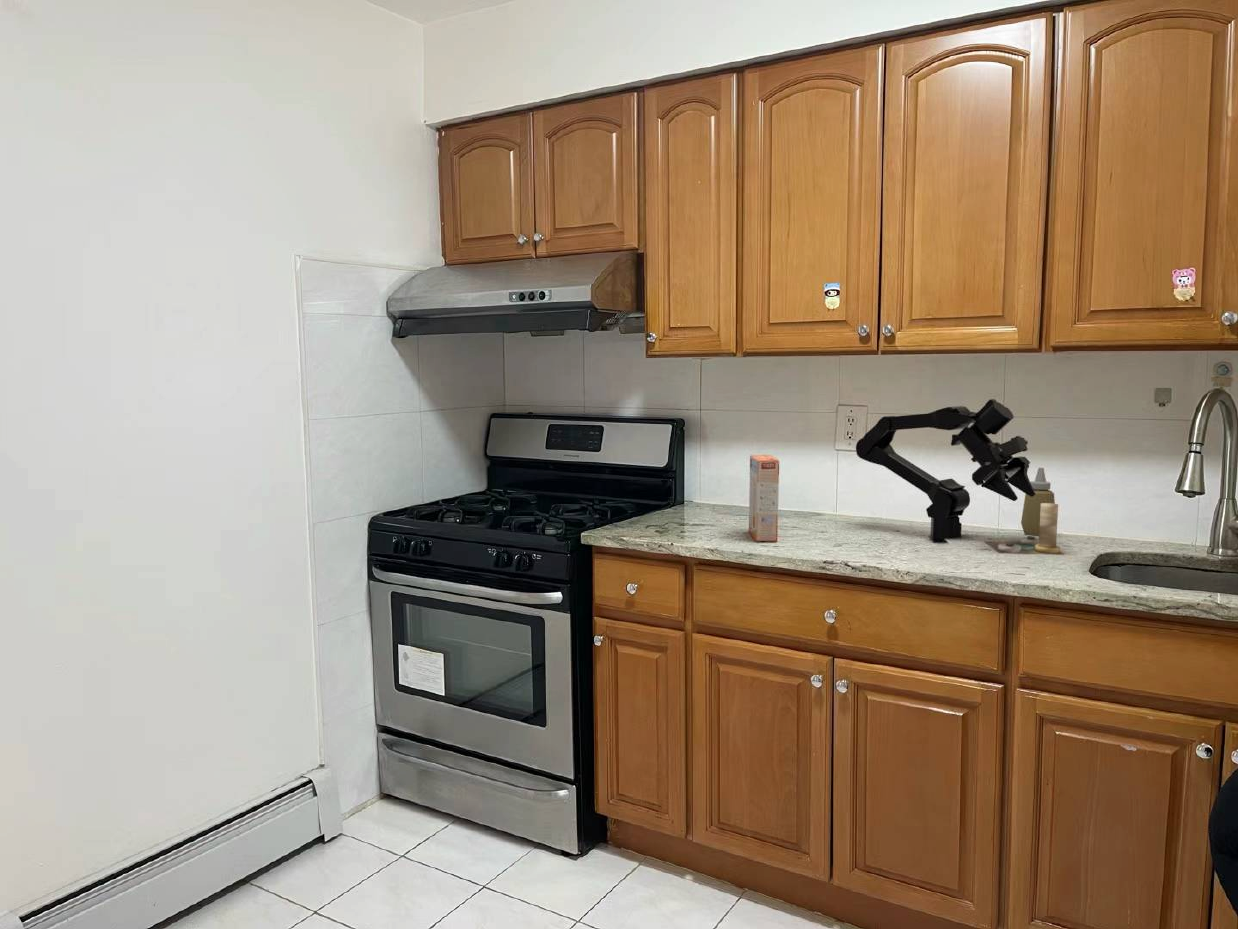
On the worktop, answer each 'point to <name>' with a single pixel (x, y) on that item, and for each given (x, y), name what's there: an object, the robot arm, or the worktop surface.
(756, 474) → the cracker box
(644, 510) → the worktop surface
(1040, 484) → the squeeze bottle
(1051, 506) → the gear spindle
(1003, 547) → the gear board
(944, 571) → the worktop surface
